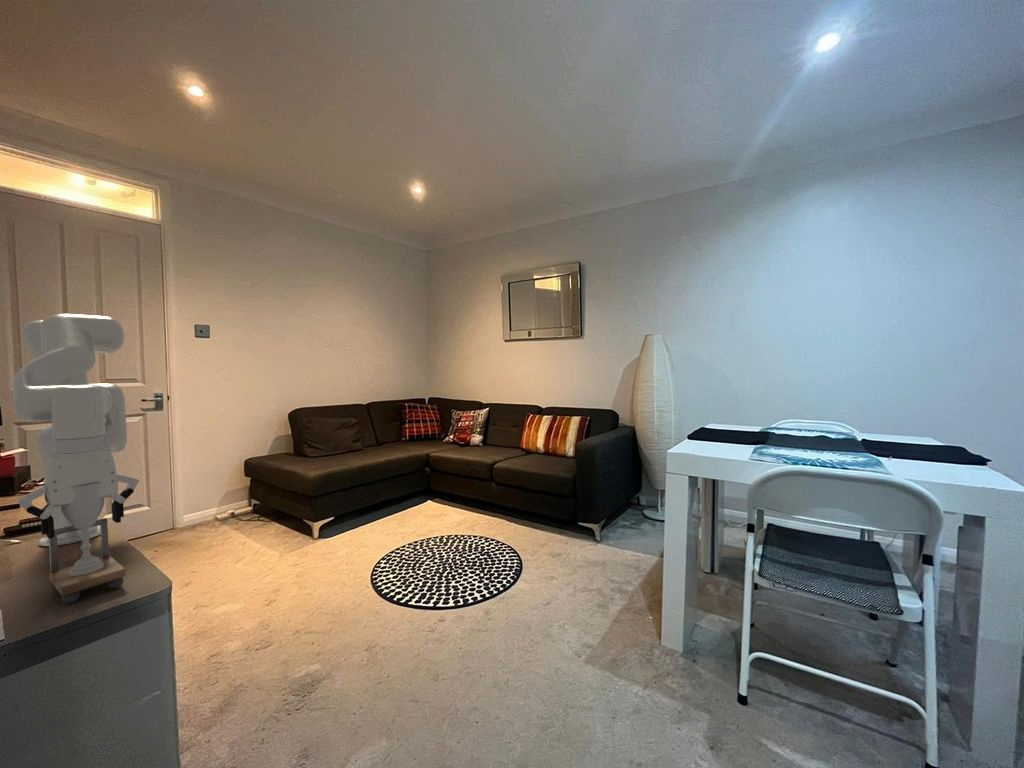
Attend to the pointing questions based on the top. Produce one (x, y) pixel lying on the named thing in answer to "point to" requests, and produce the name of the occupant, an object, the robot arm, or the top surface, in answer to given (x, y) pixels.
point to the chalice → (85, 524)
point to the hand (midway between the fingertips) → (85, 528)
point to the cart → (73, 584)
